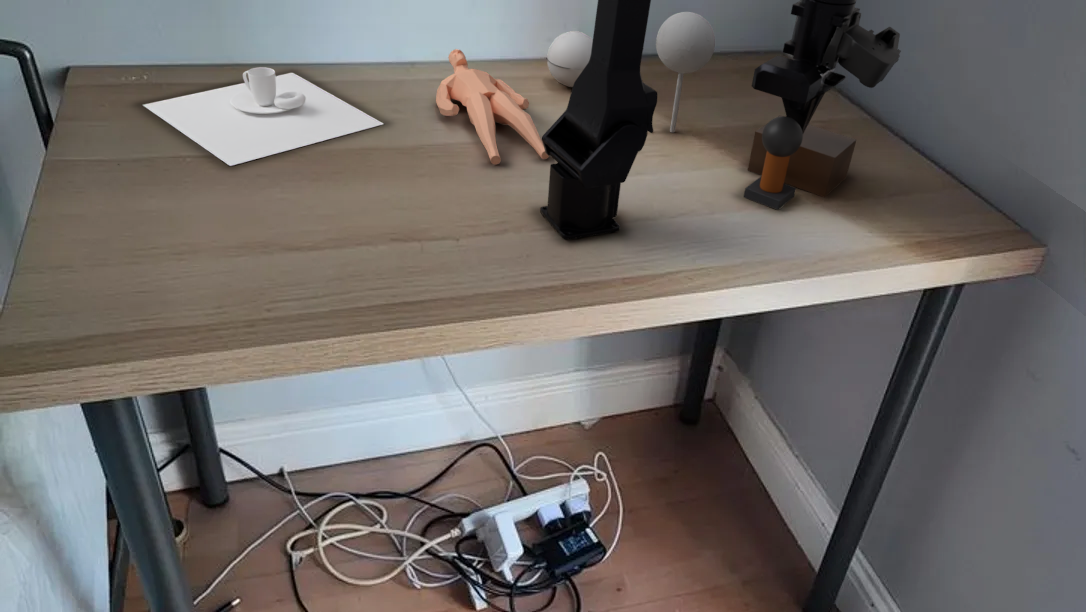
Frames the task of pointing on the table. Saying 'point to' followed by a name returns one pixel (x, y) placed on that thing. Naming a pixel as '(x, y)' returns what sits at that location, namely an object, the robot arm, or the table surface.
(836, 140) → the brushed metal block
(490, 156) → the male figurine
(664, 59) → the lollipop
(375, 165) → the table surface
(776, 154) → the ball-topped stamp
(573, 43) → the white oval body
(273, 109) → the teacup and saucer
